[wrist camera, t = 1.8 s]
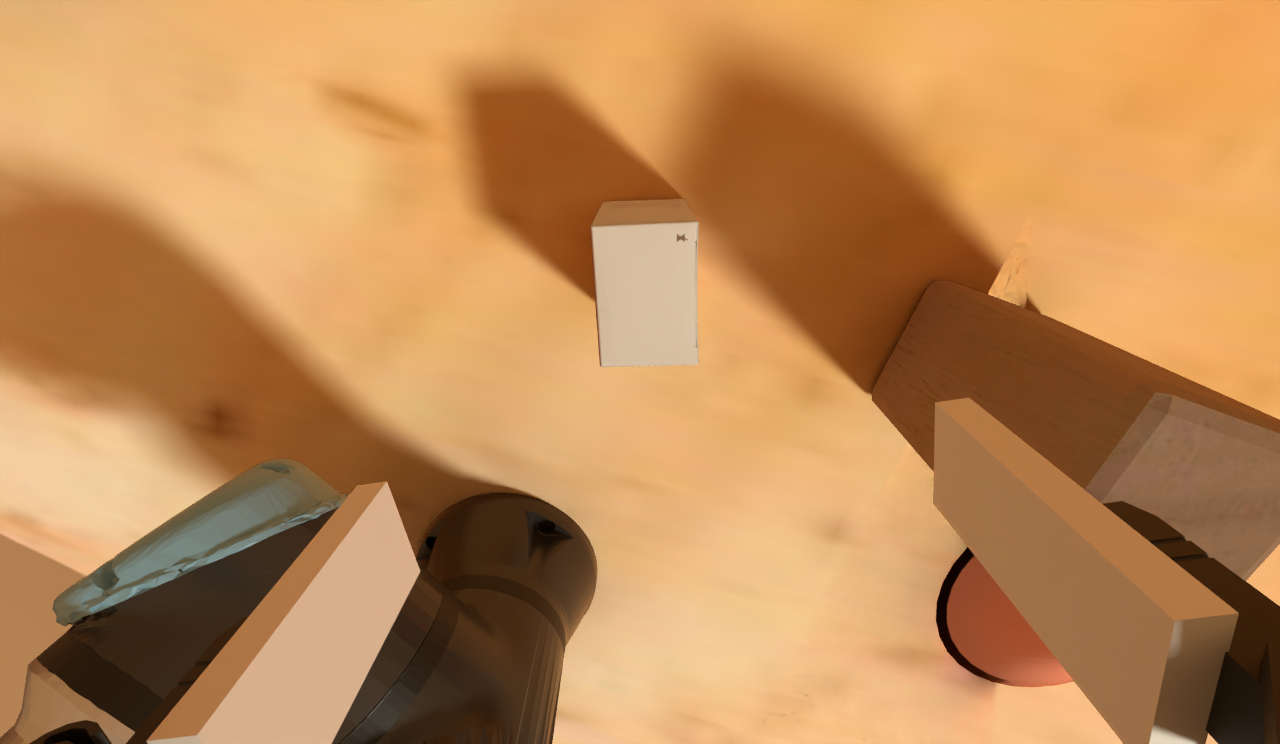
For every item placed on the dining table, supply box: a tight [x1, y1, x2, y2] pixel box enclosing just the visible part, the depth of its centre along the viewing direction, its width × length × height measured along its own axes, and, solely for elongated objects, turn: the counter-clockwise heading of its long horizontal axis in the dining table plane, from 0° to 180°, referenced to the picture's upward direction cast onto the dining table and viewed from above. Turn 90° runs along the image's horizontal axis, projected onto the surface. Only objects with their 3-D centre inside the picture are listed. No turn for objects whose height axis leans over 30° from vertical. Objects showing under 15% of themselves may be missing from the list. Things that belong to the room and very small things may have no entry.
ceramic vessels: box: [936, 547, 1074, 687], centre depth 44 cm, size 35×21×19 cm, turn 65°
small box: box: [590, 199, 699, 367], centre depth 36 cm, size 8×6×10 cm
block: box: [872, 280, 1280, 581], centre depth 34 cm, size 10×10×20 cm
